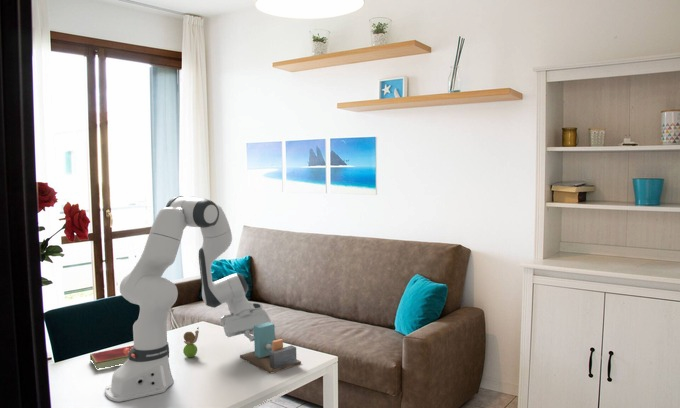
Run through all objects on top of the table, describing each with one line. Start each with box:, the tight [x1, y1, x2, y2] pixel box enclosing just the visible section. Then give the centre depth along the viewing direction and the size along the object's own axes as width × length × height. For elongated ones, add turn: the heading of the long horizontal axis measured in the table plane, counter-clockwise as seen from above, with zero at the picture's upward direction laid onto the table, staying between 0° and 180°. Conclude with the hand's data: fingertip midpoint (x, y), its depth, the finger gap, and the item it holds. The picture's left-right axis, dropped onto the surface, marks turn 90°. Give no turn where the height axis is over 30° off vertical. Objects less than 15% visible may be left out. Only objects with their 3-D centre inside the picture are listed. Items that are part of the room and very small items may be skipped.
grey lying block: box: [270, 345, 298, 370], centre depth 200 cm, size 10×3×6 cm, turn 130°
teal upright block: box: [253, 322, 276, 358], centre depth 209 cm, size 7×6×12 cm
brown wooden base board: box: [239, 350, 302, 374], centre depth 208 cm, size 14×22×1 cm, turn 40°
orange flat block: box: [272, 338, 284, 351], centre depth 205 cm, size 9×2×8 cm, turn 130°
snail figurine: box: [182, 326, 200, 358], centre depth 213 cm, size 5×6×12 cm
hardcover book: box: [89, 344, 134, 369], centre depth 210 cm, size 12×21×4 cm, turn 124°
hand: (254, 340), depth 216 cm, fingers closed
